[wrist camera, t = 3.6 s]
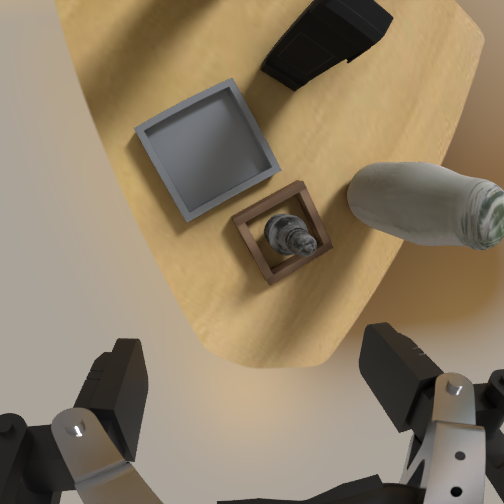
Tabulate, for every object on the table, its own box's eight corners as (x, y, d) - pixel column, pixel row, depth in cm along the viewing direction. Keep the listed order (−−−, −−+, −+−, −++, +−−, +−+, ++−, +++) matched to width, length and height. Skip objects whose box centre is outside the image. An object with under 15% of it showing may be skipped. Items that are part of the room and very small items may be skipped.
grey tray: (136, 130, 40) (134, 128, 38) (229, 82, 41) (232, 77, 39) (186, 220, 45) (186, 222, 43) (276, 170, 46) (281, 170, 44)
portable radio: (318, 68, 43) (420, 9, 20) (301, 96, 44) (402, 45, 20) (277, 41, 41) (354, -43, 17) (257, 68, 42) (329, -13, 18)
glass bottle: (363, 234, 52) (493, 289, 25) (325, 192, 49) (462, 221, 22) (396, 193, 52) (530, 221, 25) (362, 149, 48) (504, 148, 22)
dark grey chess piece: (290, 254, 50) (321, 279, 39) (256, 242, 48) (280, 264, 37) (305, 220, 49) (341, 235, 38) (271, 205, 47) (300, 217, 36)
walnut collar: (230, 216, 46) (233, 219, 44) (297, 180, 47) (303, 180, 45) (265, 280, 50) (269, 285, 48) (326, 243, 51) (333, 247, 48)
